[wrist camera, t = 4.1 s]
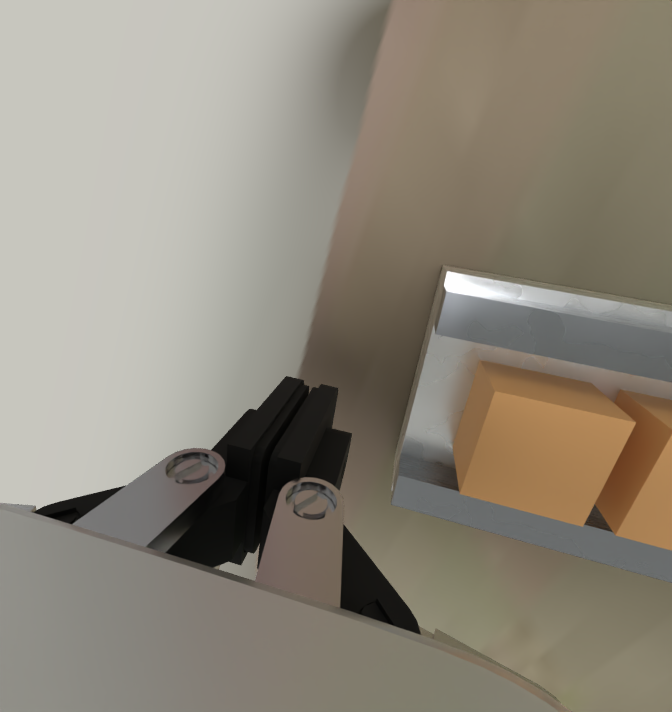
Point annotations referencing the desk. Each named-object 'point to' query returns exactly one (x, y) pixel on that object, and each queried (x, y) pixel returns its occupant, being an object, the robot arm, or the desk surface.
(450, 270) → the slot block
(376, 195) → the desk surface
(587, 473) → the chip
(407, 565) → the desk surface
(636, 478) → the orange square block
